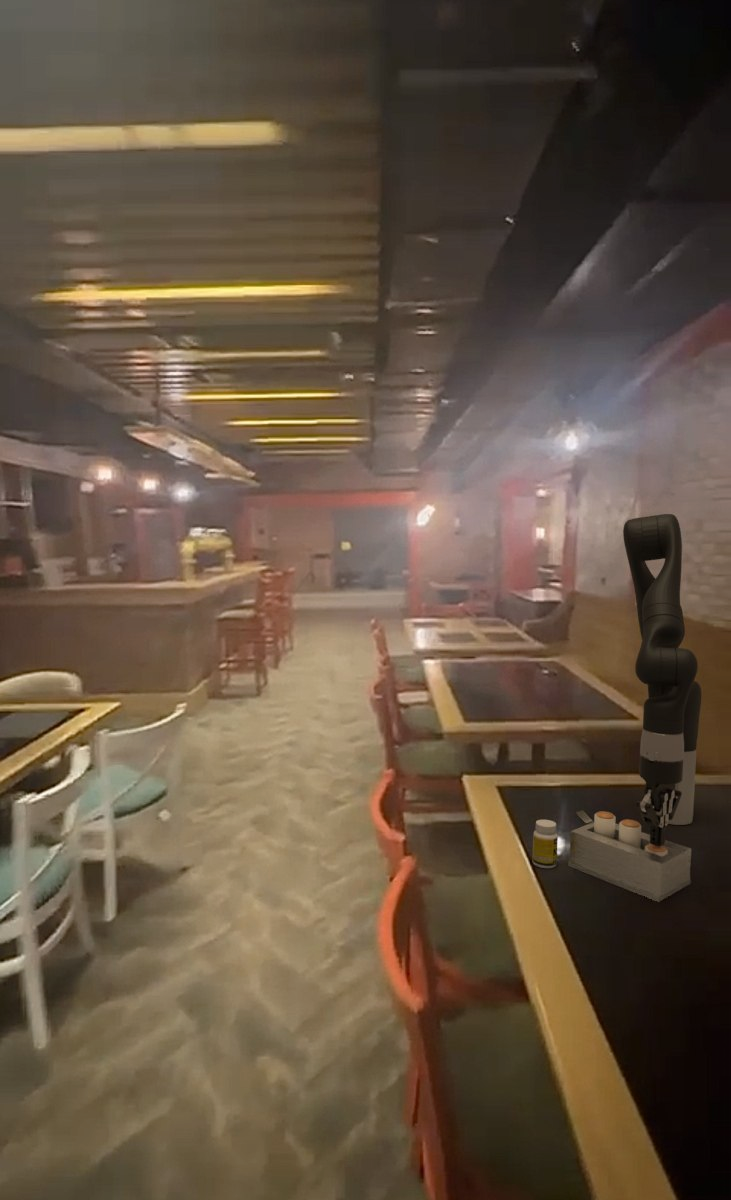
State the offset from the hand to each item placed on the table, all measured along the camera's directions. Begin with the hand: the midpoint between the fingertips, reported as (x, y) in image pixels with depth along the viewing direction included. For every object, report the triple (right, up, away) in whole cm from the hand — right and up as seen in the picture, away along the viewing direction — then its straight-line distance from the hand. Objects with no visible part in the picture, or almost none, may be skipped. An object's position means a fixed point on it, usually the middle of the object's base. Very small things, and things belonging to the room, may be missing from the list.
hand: (657, 844), depth 139 cm
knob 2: (-4, -3, +4) cm, 7 cm away
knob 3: (0, -6, 0) cm, 7 cm away
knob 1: (-7, -3, +9) cm, 12 cm away
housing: (-4, -7, +5) cm, 10 cm away
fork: (0, -6, +29) cm, 29 cm away
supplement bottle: (-19, -7, +9) cm, 22 cm away
